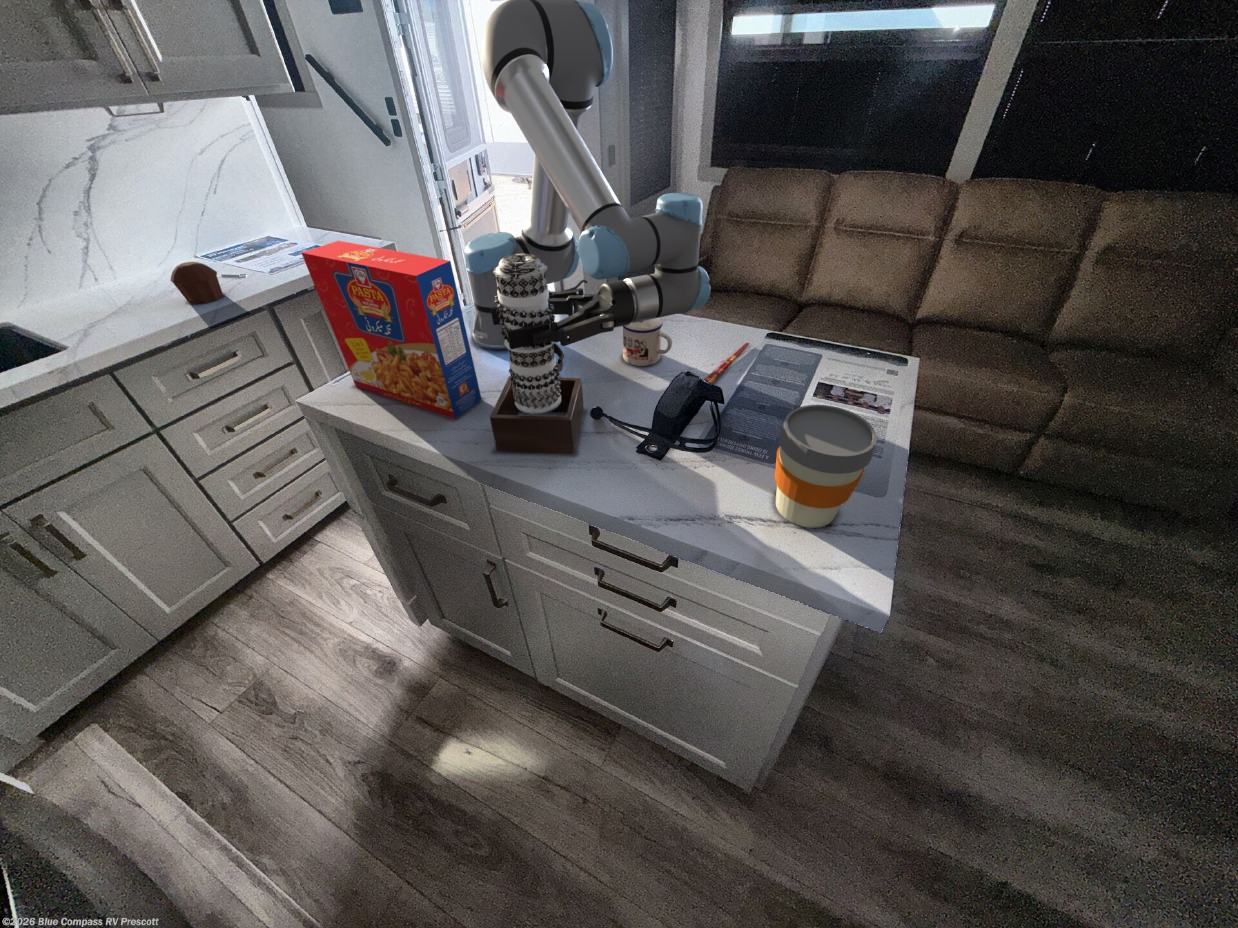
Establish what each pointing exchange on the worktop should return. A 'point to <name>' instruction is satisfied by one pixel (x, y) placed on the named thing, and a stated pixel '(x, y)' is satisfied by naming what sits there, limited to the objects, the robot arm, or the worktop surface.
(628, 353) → the teacup with lid
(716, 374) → the chopstick
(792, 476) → the reusable coffee cup
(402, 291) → the pasta box
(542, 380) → the patterned vase
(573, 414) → the walnut box
